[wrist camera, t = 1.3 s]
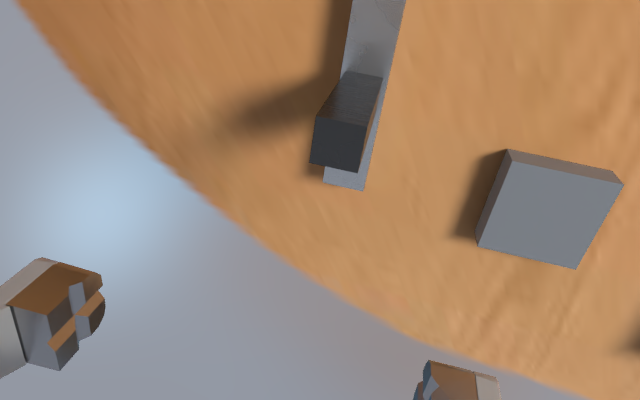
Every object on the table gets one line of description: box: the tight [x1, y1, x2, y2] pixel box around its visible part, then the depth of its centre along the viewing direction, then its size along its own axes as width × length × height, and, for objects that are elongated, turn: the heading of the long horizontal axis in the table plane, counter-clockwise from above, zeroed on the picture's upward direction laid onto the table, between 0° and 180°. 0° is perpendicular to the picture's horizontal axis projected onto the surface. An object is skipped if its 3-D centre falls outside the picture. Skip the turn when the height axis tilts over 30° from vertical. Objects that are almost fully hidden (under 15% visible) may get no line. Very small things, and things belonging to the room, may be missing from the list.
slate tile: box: [475, 149, 624, 270], centre depth 31 cm, size 7×7×2 cm
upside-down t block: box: [309, 0, 406, 191], centre depth 26 cm, size 14×3×12 cm, turn 172°
